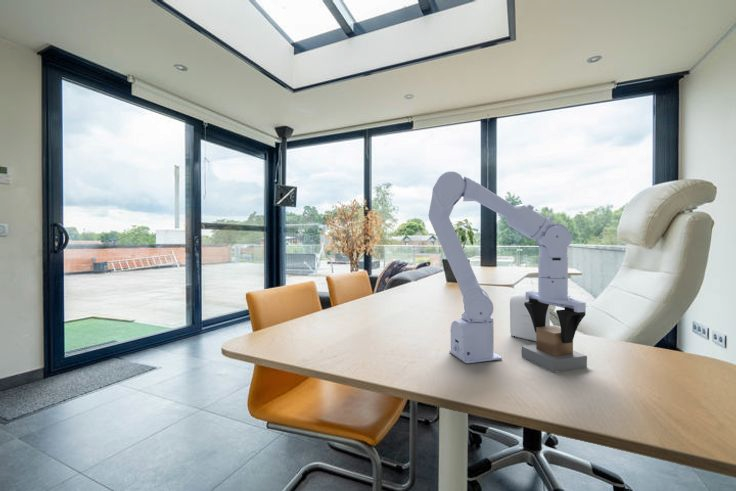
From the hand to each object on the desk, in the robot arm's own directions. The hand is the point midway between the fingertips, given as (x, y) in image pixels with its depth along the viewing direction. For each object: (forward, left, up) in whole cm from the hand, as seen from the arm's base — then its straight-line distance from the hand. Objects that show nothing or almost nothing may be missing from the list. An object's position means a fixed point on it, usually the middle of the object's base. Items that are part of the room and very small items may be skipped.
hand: (552, 337), depth 71 cm
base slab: (0, 0, -6) cm, 6 cm away
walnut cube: (0, 0, -3) cm, 3 cm away
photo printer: (+7, +15, -6) cm, 18 cm away
